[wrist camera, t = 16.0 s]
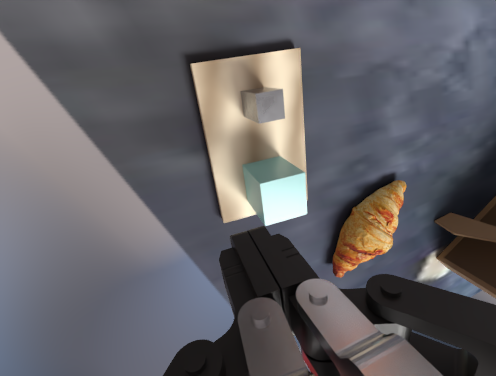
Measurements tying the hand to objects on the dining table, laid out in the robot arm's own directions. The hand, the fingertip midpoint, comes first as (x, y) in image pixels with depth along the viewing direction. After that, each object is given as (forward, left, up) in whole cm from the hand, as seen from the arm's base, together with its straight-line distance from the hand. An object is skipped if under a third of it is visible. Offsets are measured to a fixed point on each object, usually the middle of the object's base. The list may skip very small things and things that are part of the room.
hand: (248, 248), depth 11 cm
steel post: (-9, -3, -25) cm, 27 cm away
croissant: (-28, +24, -27) cm, 46 cm away
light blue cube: (-9, +9, -26) cm, 28 cm away
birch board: (-9, +3, -27) cm, 29 cm away
